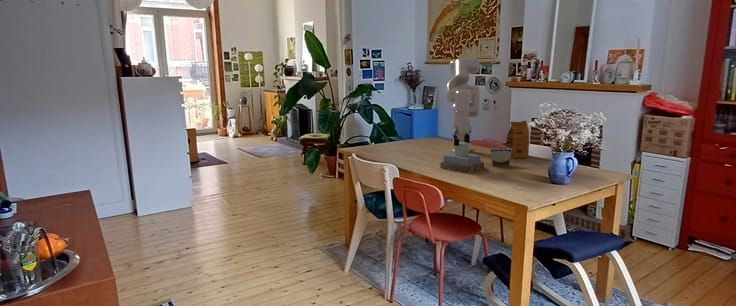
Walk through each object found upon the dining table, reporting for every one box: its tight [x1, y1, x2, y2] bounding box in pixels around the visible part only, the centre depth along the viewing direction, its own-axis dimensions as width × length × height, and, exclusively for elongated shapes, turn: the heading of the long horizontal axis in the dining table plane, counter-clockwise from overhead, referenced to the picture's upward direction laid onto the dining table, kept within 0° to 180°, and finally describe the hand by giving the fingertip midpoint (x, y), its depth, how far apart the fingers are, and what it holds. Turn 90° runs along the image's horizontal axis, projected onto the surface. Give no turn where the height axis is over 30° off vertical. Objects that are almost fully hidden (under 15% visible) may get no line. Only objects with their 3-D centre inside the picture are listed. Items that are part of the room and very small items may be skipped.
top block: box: [443, 152, 482, 167], centre depth 263 cm, size 12×16×4 cm
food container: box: [489, 146, 513, 167], centre depth 268 cm, size 12×6×10 cm, turn 84°
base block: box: [439, 161, 485, 174], centre depth 264 cm, size 16×18×4 cm
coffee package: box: [505, 120, 530, 160], centre depth 285 cm, size 10×12×22 cm
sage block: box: [454, 142, 469, 157], centre depth 262 cm, size 5×5×7 cm
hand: (461, 144), depth 262 cm, fingers open, 9 cm apart
